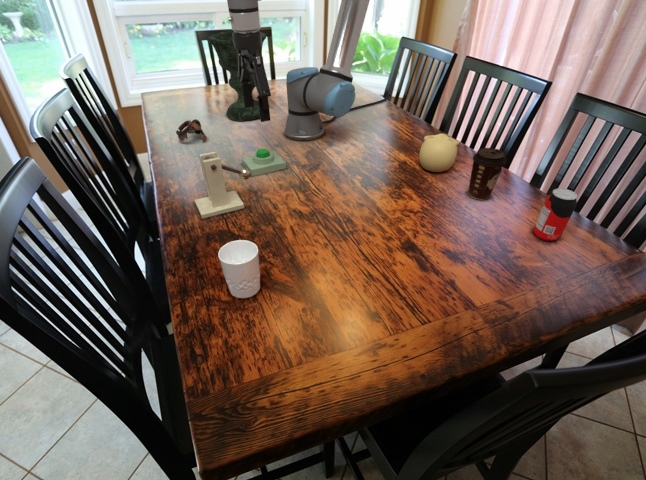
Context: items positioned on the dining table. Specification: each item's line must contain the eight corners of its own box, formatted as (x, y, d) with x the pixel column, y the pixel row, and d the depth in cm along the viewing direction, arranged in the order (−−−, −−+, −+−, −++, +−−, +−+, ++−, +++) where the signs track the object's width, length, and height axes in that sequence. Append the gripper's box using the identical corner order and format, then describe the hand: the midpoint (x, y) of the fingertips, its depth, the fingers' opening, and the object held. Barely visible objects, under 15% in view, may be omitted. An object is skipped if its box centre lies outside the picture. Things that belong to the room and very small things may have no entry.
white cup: (228, 276, 85) (220, 240, 79) (263, 274, 86) (258, 238, 79) (224, 301, 79) (215, 265, 73) (262, 299, 80) (257, 262, 73)
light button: (266, 152, 127) (266, 147, 126) (270, 157, 124) (270, 152, 123) (255, 154, 126) (254, 149, 125) (259, 159, 123) (258, 154, 122)
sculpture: (455, 163, 128) (463, 131, 121) (449, 178, 119) (456, 145, 112) (422, 157, 131) (427, 126, 124) (413, 172, 123) (418, 139, 116)
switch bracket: (235, 193, 113) (227, 146, 104) (244, 208, 107) (236, 158, 98) (195, 203, 109) (182, 154, 100) (202, 218, 103) (189, 168, 94)
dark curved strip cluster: (205, 146, 141) (189, 129, 135) (186, 155, 145) (170, 139, 140) (212, 126, 148) (197, 109, 142) (194, 135, 152) (179, 119, 146)
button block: (275, 157, 133) (274, 146, 130) (286, 168, 126) (285, 157, 123) (242, 164, 129) (240, 152, 126) (251, 176, 122) (250, 164, 119)
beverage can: (557, 246, 93) (579, 203, 85) (529, 238, 95) (548, 196, 88) (560, 233, 97) (581, 191, 89) (534, 225, 99) (551, 184, 92)
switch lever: (246, 177, 109) (250, 167, 107) (249, 182, 107) (254, 172, 105) (202, 164, 101) (206, 153, 100) (205, 169, 99) (209, 158, 97)
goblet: (282, 111, 169) (277, 33, 150) (249, 126, 155) (239, 42, 135) (245, 102, 178) (235, 28, 159) (210, 117, 164) (195, 37, 144)
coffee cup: (494, 190, 114) (508, 148, 105) (494, 204, 108) (509, 161, 99) (464, 186, 116) (475, 144, 107) (462, 199, 110) (474, 156, 101)
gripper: (218, 25, 106) (232, 103, 120) (248, 40, 89) (260, 130, 103) (244, 22, 108) (254, 99, 122) (278, 37, 92) (285, 124, 106)
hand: (257, 113), depth 113 cm, fingers open, 13 cm apart
